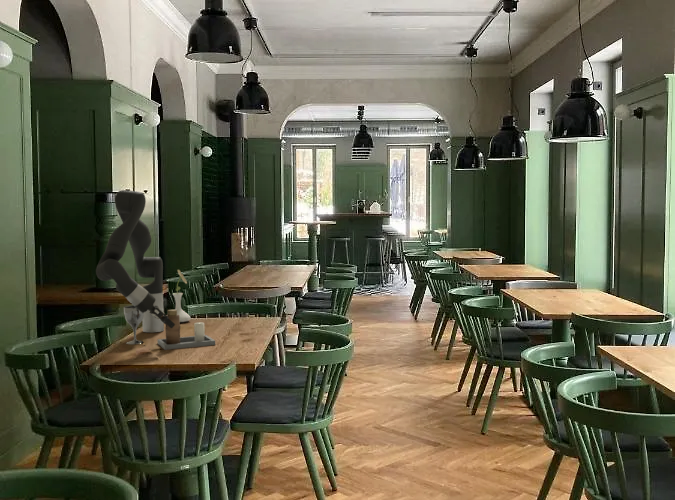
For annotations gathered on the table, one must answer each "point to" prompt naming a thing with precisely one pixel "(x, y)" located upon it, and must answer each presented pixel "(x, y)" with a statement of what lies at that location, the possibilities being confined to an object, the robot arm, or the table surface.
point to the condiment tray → (186, 343)
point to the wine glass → (133, 320)
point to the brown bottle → (174, 332)
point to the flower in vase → (183, 315)
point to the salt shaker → (199, 331)
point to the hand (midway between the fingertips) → (170, 324)
